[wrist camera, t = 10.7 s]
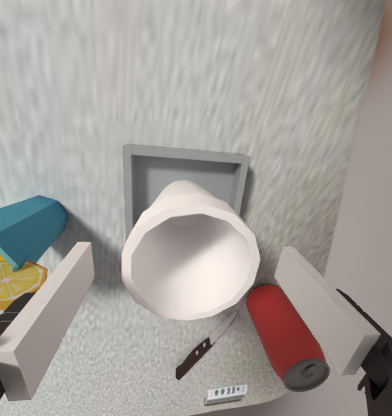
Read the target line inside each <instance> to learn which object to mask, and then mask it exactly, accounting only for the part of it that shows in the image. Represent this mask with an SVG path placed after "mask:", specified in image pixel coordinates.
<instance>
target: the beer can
mask: <svg viewBox="0 0 392 416" xmlns="http://www.w3.org/2000/svg"><path fill="white" fill-rule="evenodd" d="M246 304H247V309H248V311H249V313H250V316H251V318H252V320H253V323H254V325H255V328H256V330H257V332H258V335H259V337H260V339H261V342H262V344H263V347H264V349H265V351H266V354H267V356H268V359H269V361H270V363H271V366H272V367H273V369H274V370H275V372H276V373H277V375H278V376H279V377H280V378H281V380H282V381H283V382H284V385H285V387H286V388H287V389H289V390H291V391H295V392H304V391H308V390H311V389H314V388H316V387H318V386H319V385H321V384H322V383H323V382H324V381H325V380H326V379H327V378H328V376H329V372H330V368H329V366H328V364H327V363H326V360H325V357H324V354H323V352H322V349H321V347H320V345H319V343H318V342H317V340H316V339H315V337H314V336H313V335H312V333H311V332H310V330H309V329H308V327H307V326H306V324H305V323H304V321H303V320H302V319H301V317H300V316H299V314H298V313H297V311H296V310H295V308H294V307H293V305H292V304H291V303H290V301H289V300H288V298H287V297H286V295H285V294H284V292H283V291H282V289H280V288H279V287H278V286H275V285H272V284H265V285H261V286H259V287H257V288H255V289H254V290H253V291H251V292H250V294H249V295H248V297H247V301H246Z"/></svg>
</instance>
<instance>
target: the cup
mask: <svg viewBox="0 0 392 416" xmlns="http://www.w3.org/2000/svg"><path fill="white" fill-rule="evenodd" d="M67 216H68V214H67V213H66V212H65V210H64V209H63V208H62V206H61V205H60V204H59V202H58V201H56V200H53V199H50V198H46V197H43V196H40V195H39V196H36V197H33V198H30V199H27V200H24V201H21V202H18V203H15V204H12V205H9V206H6V207H3V208H0V310H6V308H7V307H8V306H9V305H10V304H11V303H12V302H13V301H14V300H16V299H17V298H19V297H20V296H22V295H23V294H24V293H35V292H37V291H38V290H39V289H40V287H41V286H42V285H43V284H44V282H45V281H46V277H47V269H46V268H44V267H42V266H40V265H38V264H36V262H37V261H38V260H39V258H40V257H41V256H42V255H43V254H44V253H45V251H46V250H47V249H48V248H49V247H50V245H51V244H52V243H53V242H54V241H55V239H56V238H57V237H58V236H59V235H60V234H61V232H62V231H63V230H64V229H65V226H66V221H67Z"/></svg>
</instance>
